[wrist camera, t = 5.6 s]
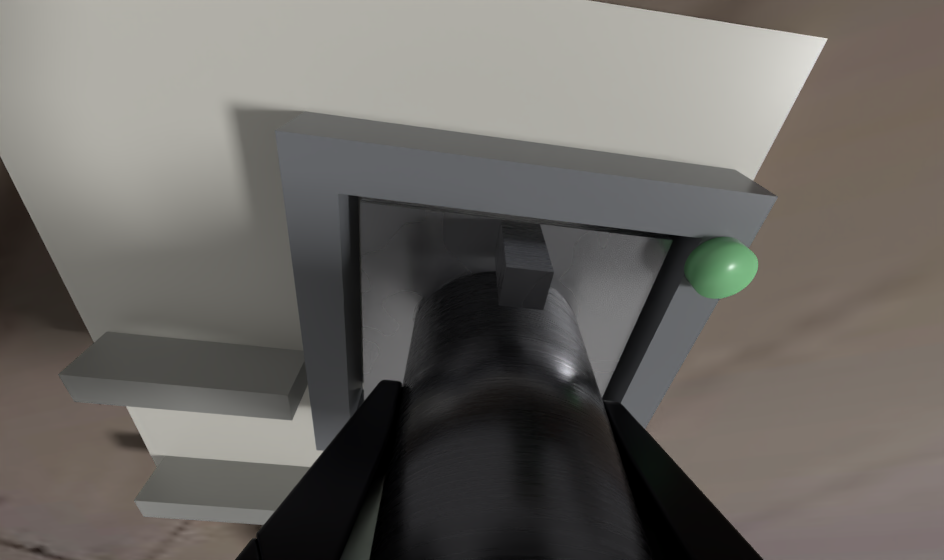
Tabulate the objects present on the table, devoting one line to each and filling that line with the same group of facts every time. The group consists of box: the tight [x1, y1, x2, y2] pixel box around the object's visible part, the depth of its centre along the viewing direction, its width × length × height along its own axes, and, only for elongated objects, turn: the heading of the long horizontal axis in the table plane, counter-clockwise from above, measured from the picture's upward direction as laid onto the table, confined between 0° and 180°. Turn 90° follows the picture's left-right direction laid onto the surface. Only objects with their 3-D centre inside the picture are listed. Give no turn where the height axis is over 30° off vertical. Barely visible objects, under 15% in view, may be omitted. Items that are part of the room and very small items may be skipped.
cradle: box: [360, 197, 673, 400], centre depth 10 cm, size 6×6×3 cm
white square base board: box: [0, 0, 827, 525], centre depth 11 cm, size 16×16×3 cm
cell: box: [369, 271, 654, 560], centre depth 7 cm, size 4×4×7 cm
